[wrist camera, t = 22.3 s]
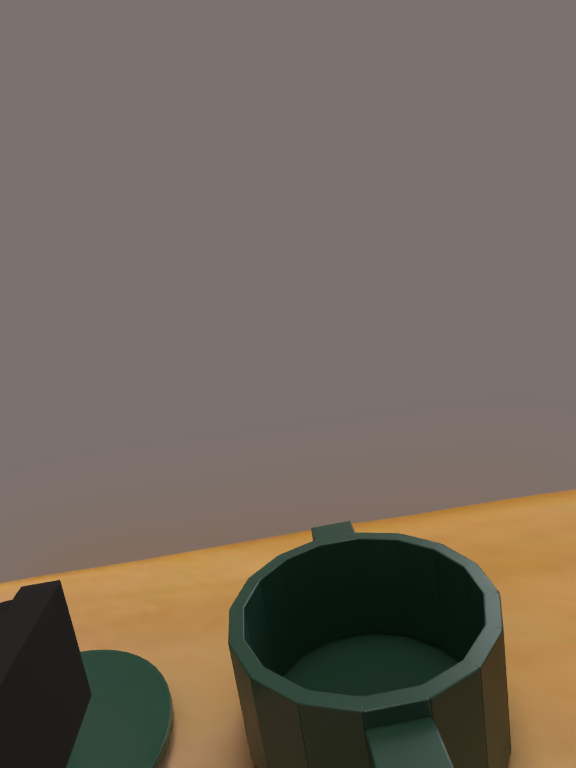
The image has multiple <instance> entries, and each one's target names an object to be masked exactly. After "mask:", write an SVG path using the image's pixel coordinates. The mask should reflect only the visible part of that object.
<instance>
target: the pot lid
mask: <svg viewBox="0 0 576 768" xmlns="http://www.w3.org/2000/svg"><path fill="white" fill-rule="evenodd" d="M11 601H12V600H9V601H5V602H1V603H0V617H1V616H2V614H3V613H4V612H5V610H6V609H7V607H8V606H9V604H10V603H11ZM80 654H81V657H82V661H83V665H84V668H85V672H86V675H87V679H88V683H89V686H90V690H91V694H92V696H91V699H90V702H89V704H88V707H87V710H86V713H85V716H84V719H83V721H82V724H81V727H80V730H79V733H78V736H77V738H76V741H75V744H74V747H73V750H72V753H71V755H70V758H69V761H68V764H67V767H66V768H158V767H159V765H160V763H161V761H162V759H163V757H164V754H165V752H166V749H167V746H168V743H169V739H170V735H171V730H172V723H173V707H172V699H171V695H170V692H169V688H168V685H167V683H166V681H165V679H164V677H163V675H162V674H161V673H160V672H159V671H158V669H157V668H156V667H155V666H153V665H152V664H151V663H150V662H148V661H147V660H145V659H143V658H141V657H139V656H137V655H134V654H131V653H128V652H122V651H116V650H90V651H83V652H80Z"/></svg>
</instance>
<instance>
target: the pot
mask: <svg viewBox="0 0 576 768" xmlns="http://www.w3.org/2000/svg"><path fill="white" fill-rule="evenodd" d="M311 530H312V537H313V541H312V542H310V543H307V544H305V545H302V546H300V547H297V548H295V549H293V550H290V551H288V552H285V553H283V554H281V555H279V556H277V557H276V558H274V559H273V560H272V561H270V562H269V563H268V564H267V565H265V566H264V567H263V568H261V569H260V570H259V571H257V572H256V573H255V574H254V575H252V576H251V577H250V578H249V579H248V580H247V582H246V583H245V585H244V586H243V588H242V590H241V591H240V593H239V595H238V596H237V598H236V599H235V601H234V603H233V604H232V606H231V608H230V610H229V638H228V644H229V649H230V654H231V659H232V664H233V669H234V674H235V679H236V684H237V689H238V694H239V699H240V704H241V709H242V714H243V719H244V724H245V729H246V734H247V739H248V744H249V749H250V754H251V757H252V760H253V762H254V763H255V765H256V768H507V765H508V759H509V756H510V754H511V739H510V724H509V708H508V692H507V677H506V661H505V646H504V630H503V620H502V609H501V599H500V594H499V591H498V590H497V589H496V588H495V586H494V585H493V584H492V582H491V581H490V580H489V579H488V577H487V576H486V575H485V574H484V572H483V571H482V570H481V568H480V567H479V566H478V565H477V564H476V563H475V562H473V561H471V560H469V559H468V558H466V557H464V556H462V555H461V554H459V553H457V552H455V551H454V550H452V549H450V548H448V547H447V546H445V545H443V544H440V543H437V542H433V541H429V540H425V539H421V538H416V537H412V536H408V535H404V534H399V533H355V532H354V529H353V527H352V524H351V522H350V521H348V522H343V523H337V524H331V525H326V526H320V527H315V528H312V529H311Z"/></svg>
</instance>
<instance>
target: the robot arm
mask: <svg viewBox="0 0 576 768" xmlns="http://www.w3.org/2000/svg"><path fill="white" fill-rule="evenodd" d="M91 696H92V694H91V690H90V686H89V683H88V679H87V675H86V672H85V668H84V665H83V661H82V657H81V654H80V650H79V647H78V643H77V639H76V636H75V632H74V629H73V625H72V621H71V618H70V614H69V611H68V607H67V603H66V600H65V596H64V593H63V589H62V585H61V582H60V580H57V581H52V582H46V583H40V584H35V585H29V586H23V587H21V588H20V590H19V591H18V593H17V594H16V596H15V597H14V598H13V600H12V601H11V603H10V604H9V606H8V607H7V609H6V610H5V612H4V613H3V614H2V616H1V617H0V768H66V767H67V764H68V761H69V758H70V755H71V753H72V750H73V747H74V744H75V741H76V738H77V736H78V733H79V730H80V727H81V724H82V721H83V719H84V716H85V713H86V710H87V707H88V704H89V702H90V699H91Z"/></svg>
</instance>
